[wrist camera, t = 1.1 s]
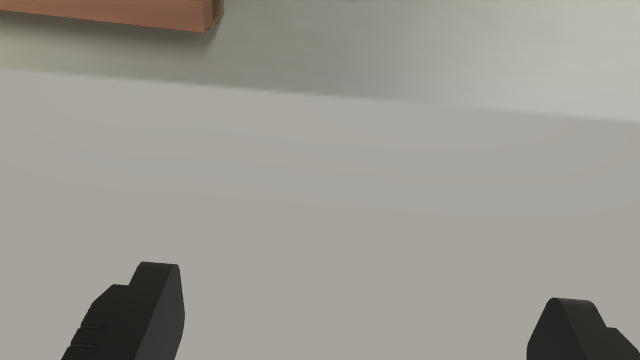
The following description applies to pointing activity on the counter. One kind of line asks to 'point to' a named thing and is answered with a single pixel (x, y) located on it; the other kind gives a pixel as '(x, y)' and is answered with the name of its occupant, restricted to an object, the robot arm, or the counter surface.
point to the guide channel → (129, 11)
